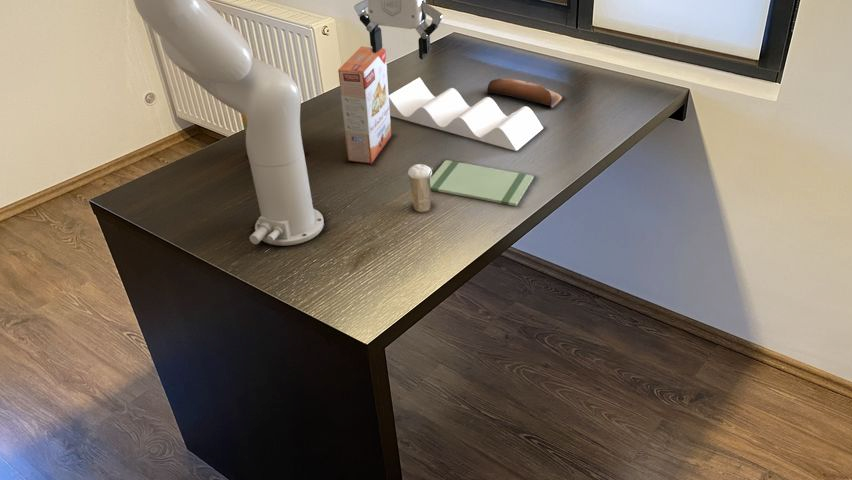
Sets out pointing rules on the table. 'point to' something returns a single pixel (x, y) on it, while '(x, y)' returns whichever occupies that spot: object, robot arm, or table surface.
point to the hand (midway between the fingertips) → (400, 53)
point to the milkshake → (420, 186)
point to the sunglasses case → (524, 91)
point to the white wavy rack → (464, 116)
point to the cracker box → (365, 104)
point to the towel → (480, 182)
